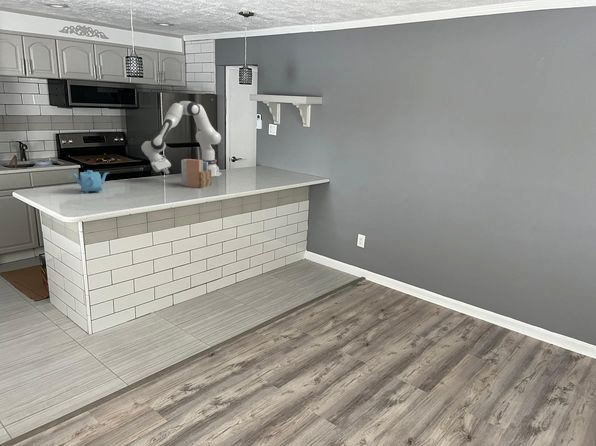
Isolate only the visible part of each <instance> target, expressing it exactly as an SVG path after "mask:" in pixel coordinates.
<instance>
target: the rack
mask: <svg viewBox="0 0 596 446" xmlns="http://www.w3.org/2000/svg"><path fill="white" fill-rule="evenodd" d="M212 182H213V181H212V177H211V169H209V170H205V171H202V172H199V189H203V188H206V187H209V186H211V185H212Z"/></svg>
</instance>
